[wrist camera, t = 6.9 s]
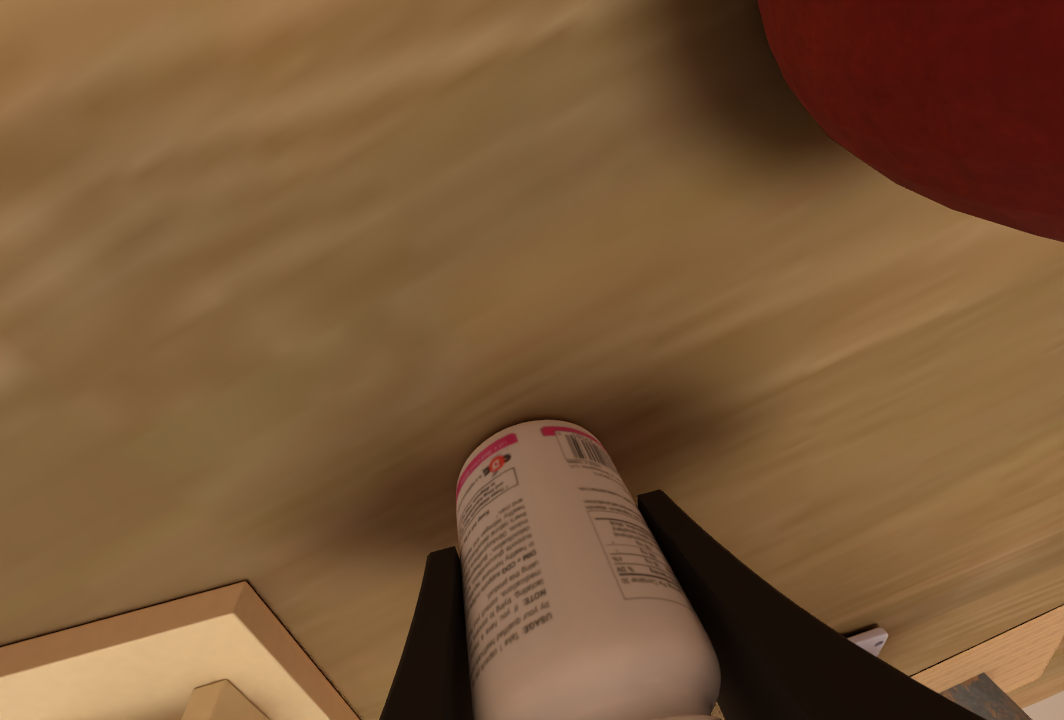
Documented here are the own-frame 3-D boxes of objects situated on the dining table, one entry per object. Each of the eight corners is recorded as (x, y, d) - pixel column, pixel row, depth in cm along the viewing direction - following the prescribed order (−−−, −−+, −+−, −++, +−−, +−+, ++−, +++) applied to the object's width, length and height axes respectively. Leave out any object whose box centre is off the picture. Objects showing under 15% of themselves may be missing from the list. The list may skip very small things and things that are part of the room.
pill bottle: (474, 547, 14) (524, 994, 7) (435, 439, 12) (448, 958, 4) (611, 507, 14) (791, 884, 7) (600, 395, 12) (855, 798, 5)
